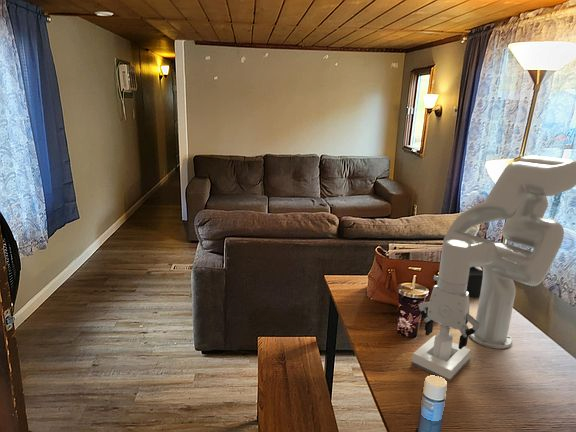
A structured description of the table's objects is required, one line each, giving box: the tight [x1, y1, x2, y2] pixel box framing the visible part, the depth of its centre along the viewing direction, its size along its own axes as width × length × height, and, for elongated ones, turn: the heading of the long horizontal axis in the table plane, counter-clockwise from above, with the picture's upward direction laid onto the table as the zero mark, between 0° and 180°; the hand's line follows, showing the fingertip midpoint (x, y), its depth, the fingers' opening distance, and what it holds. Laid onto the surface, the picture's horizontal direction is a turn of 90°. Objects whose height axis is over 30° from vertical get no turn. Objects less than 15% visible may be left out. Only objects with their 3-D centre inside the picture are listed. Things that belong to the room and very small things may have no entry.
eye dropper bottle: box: [433, 324, 454, 362], centre depth 119 cm, size 4×6×12 cm
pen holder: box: [467, 267, 483, 299], centre depth 164 cm, size 9×9×10 cm
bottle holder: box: [411, 334, 472, 383], centre depth 120 cm, size 14×11×4 cm
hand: (444, 340), depth 119 cm, fingers open, 9 cm apart
